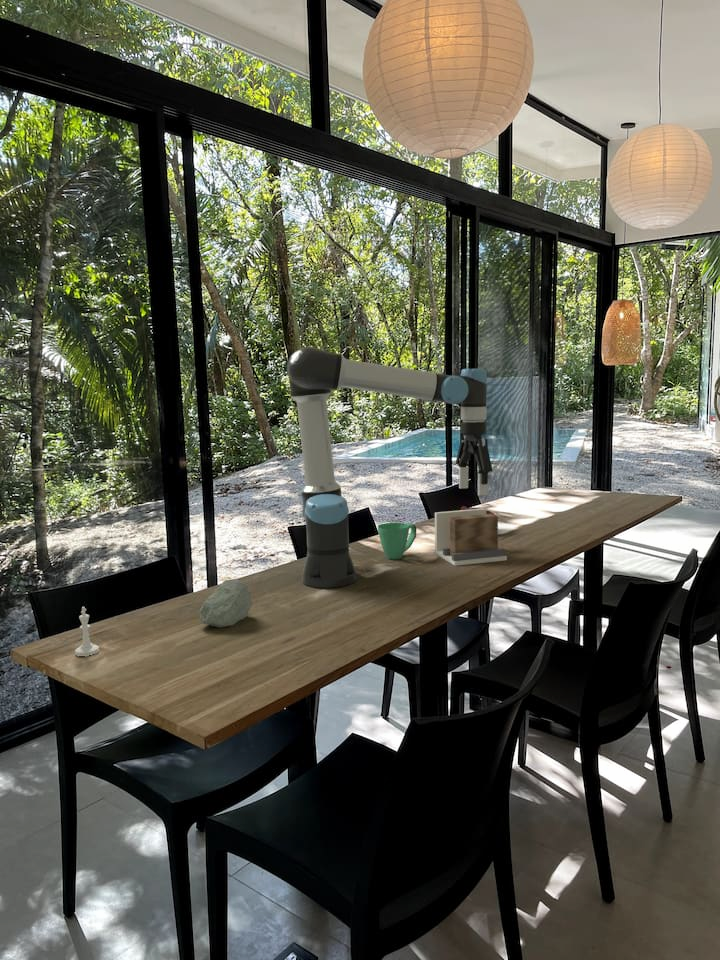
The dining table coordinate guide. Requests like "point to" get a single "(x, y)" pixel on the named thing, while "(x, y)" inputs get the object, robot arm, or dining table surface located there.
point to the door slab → (473, 533)
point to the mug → (396, 538)
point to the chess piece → (86, 638)
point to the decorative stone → (226, 604)
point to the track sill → (464, 557)
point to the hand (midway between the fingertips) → (473, 491)
